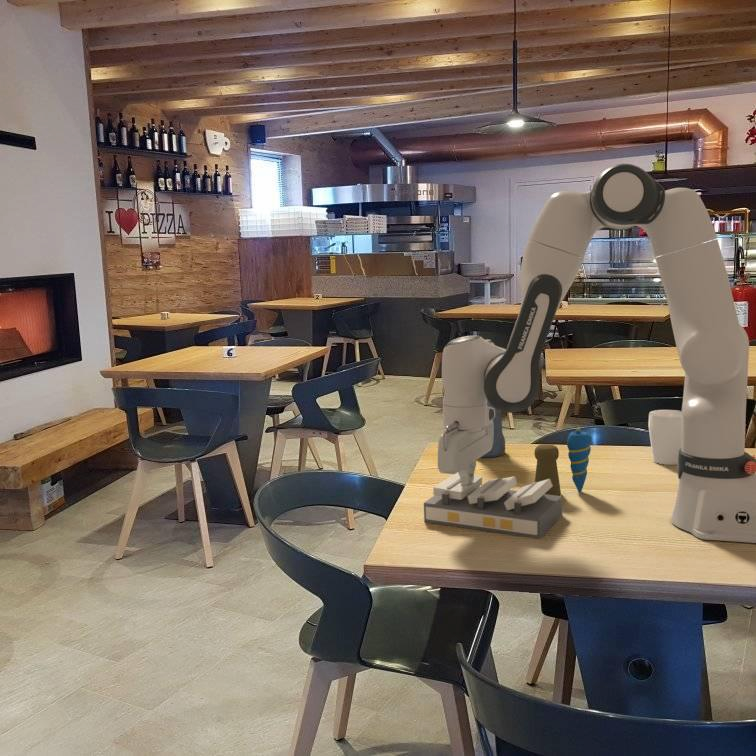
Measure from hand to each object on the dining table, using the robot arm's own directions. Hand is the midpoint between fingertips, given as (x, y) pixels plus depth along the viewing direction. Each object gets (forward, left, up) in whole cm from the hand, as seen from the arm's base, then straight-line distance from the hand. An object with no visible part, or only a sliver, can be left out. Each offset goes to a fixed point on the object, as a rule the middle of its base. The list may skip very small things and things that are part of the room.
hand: (467, 483), depth 162 cm
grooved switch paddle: (+2, 0, -1) cm, 2 cm away
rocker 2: (-13, 0, -1) cm, 13 cm away
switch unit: (-6, 0, -7) cm, 9 cm away
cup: (-30, -54, -7) cm, 62 cm away
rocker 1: (-6, 0, -1) cm, 6 cm away
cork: (-11, -19, -7) cm, 23 cm away
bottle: (+14, -46, -7) cm, 49 cm away
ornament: (-17, -23, -7) cm, 29 cm away
